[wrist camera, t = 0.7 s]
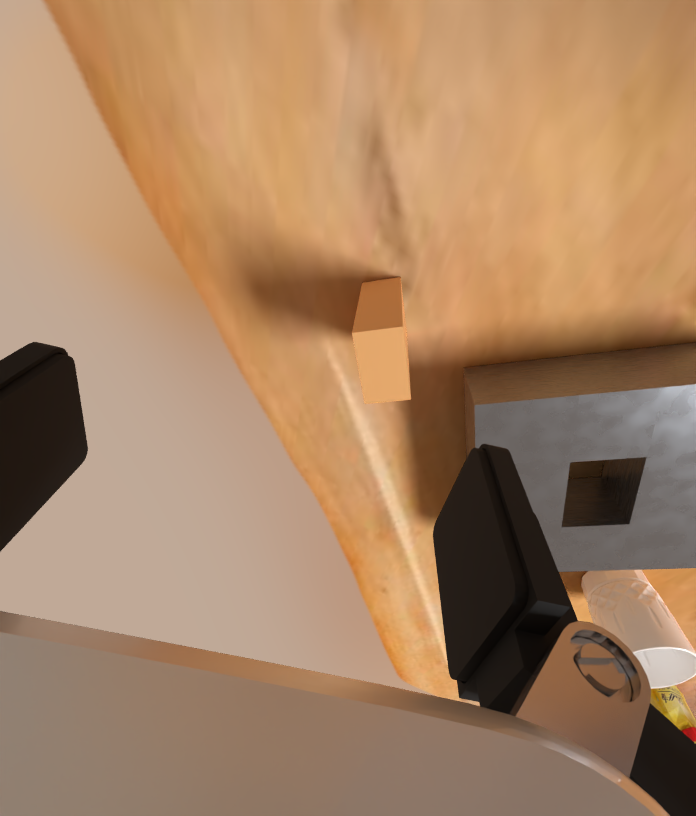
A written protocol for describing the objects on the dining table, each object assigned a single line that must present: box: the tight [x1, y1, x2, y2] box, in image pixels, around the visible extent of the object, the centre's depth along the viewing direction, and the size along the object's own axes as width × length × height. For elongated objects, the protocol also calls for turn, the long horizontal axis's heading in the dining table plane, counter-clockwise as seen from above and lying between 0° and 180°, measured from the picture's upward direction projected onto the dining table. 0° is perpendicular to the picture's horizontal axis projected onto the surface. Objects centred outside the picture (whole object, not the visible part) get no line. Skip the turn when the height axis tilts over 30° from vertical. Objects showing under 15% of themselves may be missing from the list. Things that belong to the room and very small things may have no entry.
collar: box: [464, 342, 696, 572], centre depth 38 cm, size 20×20×6 cm
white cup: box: [581, 570, 696, 689], centre depth 45 cm, size 8×8×10 cm
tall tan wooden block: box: [352, 277, 411, 404], centre depth 30 cm, size 3×5×10 cm, turn 10°
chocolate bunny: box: [650, 685, 696, 744], centre depth 54 cm, size 7×11×15 cm, turn 40°
